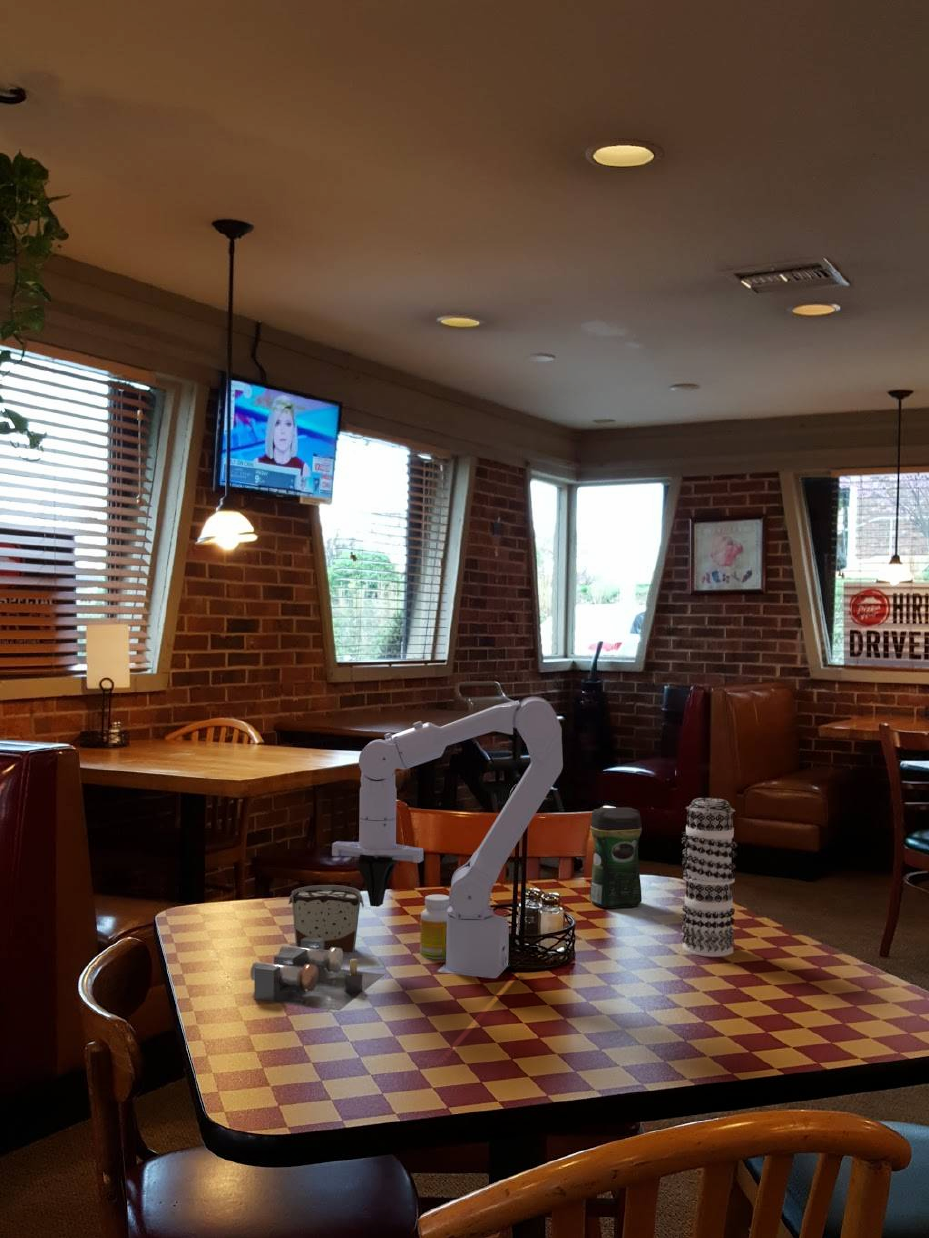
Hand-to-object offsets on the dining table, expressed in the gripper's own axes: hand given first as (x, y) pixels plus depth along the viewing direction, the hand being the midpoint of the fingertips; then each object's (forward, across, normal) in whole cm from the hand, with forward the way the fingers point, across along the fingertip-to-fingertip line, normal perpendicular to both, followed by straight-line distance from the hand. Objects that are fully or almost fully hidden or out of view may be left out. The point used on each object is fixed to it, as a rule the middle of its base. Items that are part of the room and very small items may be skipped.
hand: (376, 904), depth 181 cm
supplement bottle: (+10, +7, +9) cm, 15 cm away
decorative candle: (+10, +48, +29) cm, 57 cm away
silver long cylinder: (+9, -7, -8) cm, 14 cm away
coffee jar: (+10, +28, +54) cm, 62 cm away
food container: (+10, -11, +7) cm, 16 cm away
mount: (+10, -4, -13) cm, 16 cm away
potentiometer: (+9, +2, -12) cm, 16 cm away
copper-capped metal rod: (+8, -7, -17) cm, 20 cm away
